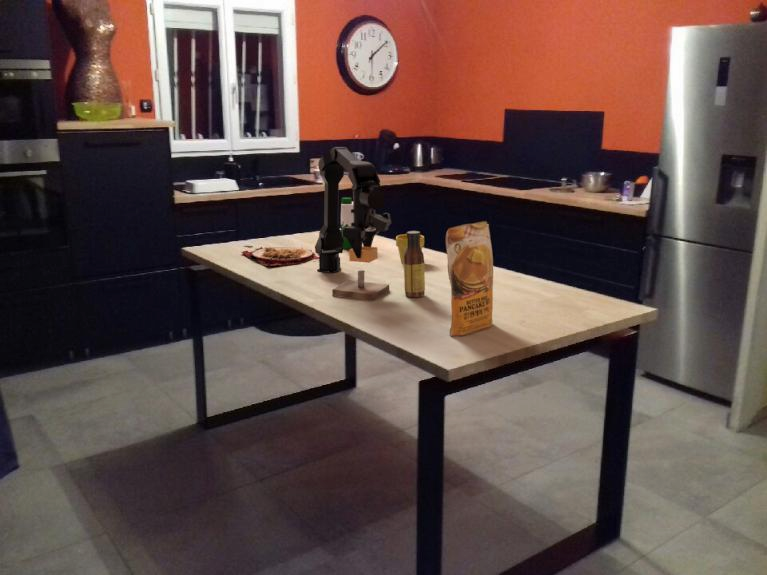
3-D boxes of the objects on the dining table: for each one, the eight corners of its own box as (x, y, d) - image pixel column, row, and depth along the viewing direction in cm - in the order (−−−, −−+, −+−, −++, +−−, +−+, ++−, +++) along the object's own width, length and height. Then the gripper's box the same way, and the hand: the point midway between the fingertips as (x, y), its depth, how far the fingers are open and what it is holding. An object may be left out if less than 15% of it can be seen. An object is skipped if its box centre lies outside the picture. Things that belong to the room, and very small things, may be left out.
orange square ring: (349, 261, 214) (349, 249, 213) (357, 256, 220) (357, 245, 219) (369, 262, 211) (369, 251, 210) (377, 258, 217) (377, 247, 216)
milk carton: (342, 245, 285) (341, 196, 279) (364, 245, 284) (363, 196, 279) (340, 250, 276) (339, 199, 271) (363, 250, 276) (363, 199, 271)
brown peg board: (332, 295, 214) (332, 273, 212) (348, 286, 225) (348, 264, 223) (374, 300, 209) (374, 278, 207) (389, 290, 220) (389, 269, 218)
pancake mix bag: (434, 333, 181) (436, 226, 173) (483, 318, 193) (487, 218, 185) (453, 340, 176) (456, 230, 168) (502, 324, 188) (507, 221, 180)
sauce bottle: (427, 293, 216) (428, 230, 211) (421, 299, 211) (422, 234, 205) (406, 291, 218) (407, 229, 213) (400, 297, 213) (401, 233, 207)
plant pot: (390, 261, 258) (390, 235, 255) (414, 258, 263) (414, 232, 260) (405, 267, 249) (405, 240, 247) (429, 264, 254) (429, 237, 252)
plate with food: (268, 270, 247) (268, 261, 246) (240, 254, 268) (240, 245, 267) (329, 263, 260) (329, 253, 259) (298, 248, 281) (298, 239, 280)
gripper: (375, 211, 200) (376, 264, 204) (398, 202, 217) (398, 252, 221) (340, 209, 204) (341, 261, 208) (365, 201, 221) (365, 249, 225)
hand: (363, 255), depth 215 cm, fingers closed on orange square ring, 7 cm apart
